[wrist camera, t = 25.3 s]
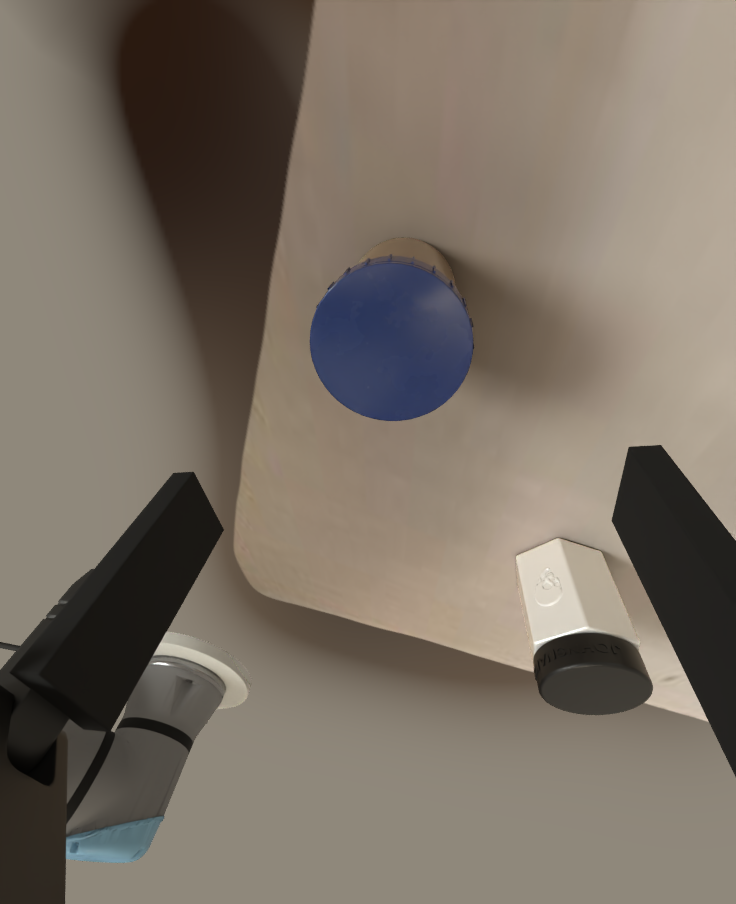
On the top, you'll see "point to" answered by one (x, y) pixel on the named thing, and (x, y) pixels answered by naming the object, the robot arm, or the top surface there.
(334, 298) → the lid
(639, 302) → the top surface
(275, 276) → the top surface
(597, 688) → the jar
